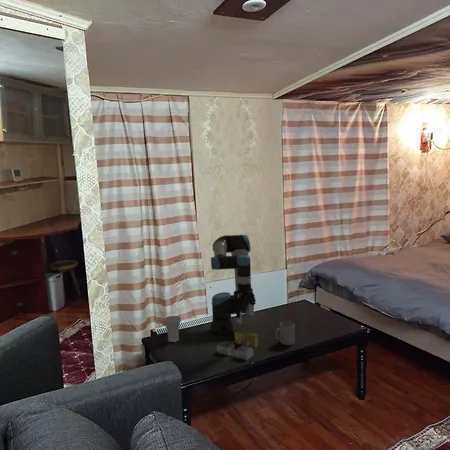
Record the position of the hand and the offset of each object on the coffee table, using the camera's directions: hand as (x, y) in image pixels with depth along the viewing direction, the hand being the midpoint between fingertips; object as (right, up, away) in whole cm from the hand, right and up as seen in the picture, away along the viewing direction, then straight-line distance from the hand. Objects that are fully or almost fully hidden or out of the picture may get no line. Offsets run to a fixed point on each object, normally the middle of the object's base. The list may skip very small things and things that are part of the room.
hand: (245, 319), depth 235 cm
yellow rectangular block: (+1, -15, +2) cm, 15 cm away
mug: (+23, -14, +3) cm, 27 cm away
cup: (-42, -16, +12) cm, 47 cm away
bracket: (-6, -17, -9) cm, 20 cm away
